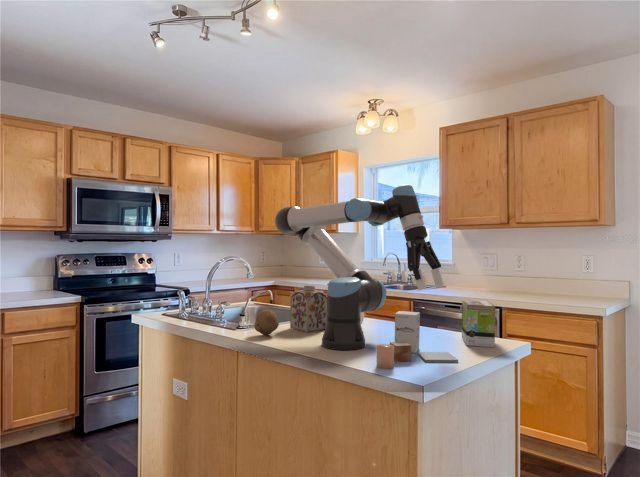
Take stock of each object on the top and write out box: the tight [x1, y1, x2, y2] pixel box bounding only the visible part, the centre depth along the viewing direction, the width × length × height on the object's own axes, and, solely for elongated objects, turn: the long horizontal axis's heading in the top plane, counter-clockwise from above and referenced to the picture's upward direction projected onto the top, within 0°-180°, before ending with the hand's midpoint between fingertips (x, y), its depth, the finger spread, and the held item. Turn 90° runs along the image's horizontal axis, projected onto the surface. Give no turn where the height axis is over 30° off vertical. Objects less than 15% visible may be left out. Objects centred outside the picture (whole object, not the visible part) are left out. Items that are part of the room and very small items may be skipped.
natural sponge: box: [254, 309, 280, 336], centre depth 171 cm, size 9×9×10 cm
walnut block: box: [389, 341, 412, 363], centre depth 137 cm, size 5×5×5 cm
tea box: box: [461, 299, 496, 348], centre depth 164 cm, size 15×10×15 cm, turn 168°
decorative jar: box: [289, 285, 327, 333], centre depth 187 cm, size 12×12×18 cm
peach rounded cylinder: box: [376, 343, 395, 370], centre depth 129 cm, size 5×5×6 cm
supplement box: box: [394, 310, 421, 354], centre depth 150 cm, size 7×7×13 cm
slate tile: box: [416, 351, 459, 364], centre depth 139 cm, size 10×10×1 cm
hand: (431, 288), depth 149 cm, fingers open, 13 cm apart
